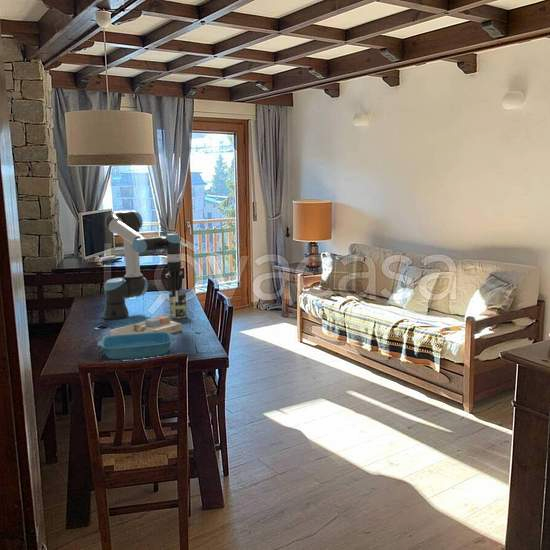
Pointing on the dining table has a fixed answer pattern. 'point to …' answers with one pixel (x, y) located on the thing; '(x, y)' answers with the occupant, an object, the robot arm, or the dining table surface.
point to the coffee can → (178, 306)
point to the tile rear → (164, 319)
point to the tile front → (153, 322)
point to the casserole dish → (136, 345)
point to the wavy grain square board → (159, 327)
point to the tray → (126, 330)
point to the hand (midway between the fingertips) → (175, 301)
